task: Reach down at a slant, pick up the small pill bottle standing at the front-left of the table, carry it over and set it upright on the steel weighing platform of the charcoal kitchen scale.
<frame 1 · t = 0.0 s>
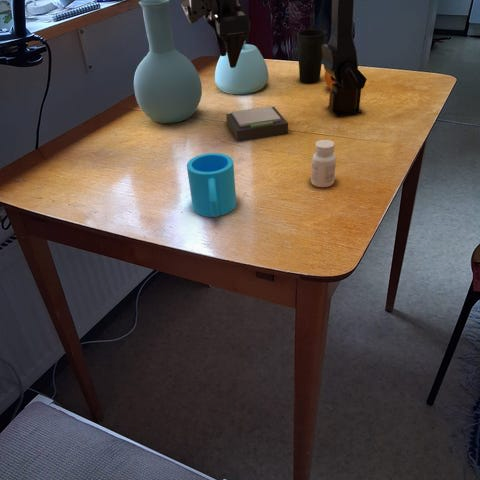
hand: (228, 61, 104), 15 cm above the table, tool pointing down, fingers open, 9 cm apart
sugar bowl: (242, 87, 136), on the table
cup: (309, 81, 136), on the table
mug: (215, 211, 88), on the table
scale: (256, 128, 114), on the table
pill bottle: (322, 183, 93), on the table
fruit: (339, 89, 130), on the table
vase: (172, 116, 123), on the table
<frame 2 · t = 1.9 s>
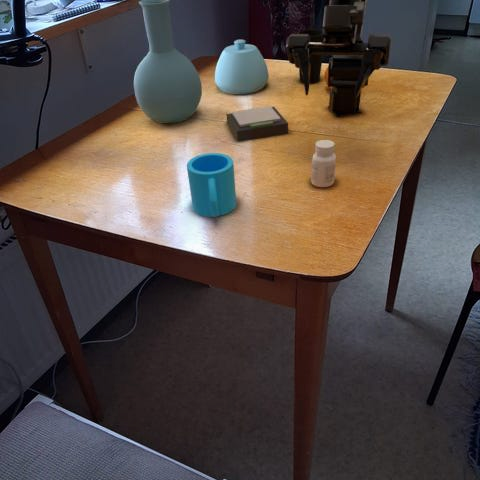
hand: (331, 95, 89), 13 cm above the table, tool tilted 45°, fingers open, 9 cm apart
nothing on the table moved.
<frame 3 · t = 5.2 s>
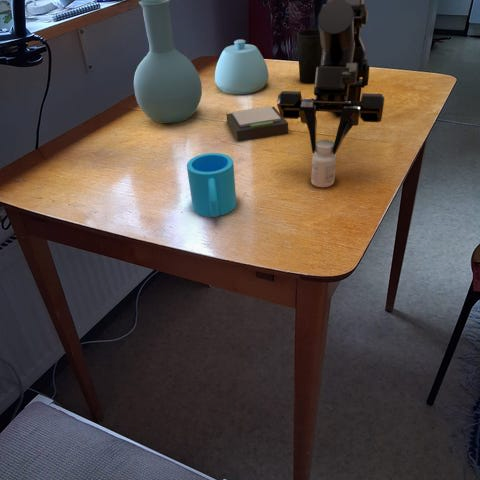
hand: (323, 152, 87), 7 cm above the table, tool tilted 45°, fingers closed on pill bottle, 3 cm apart
pill bottle: (322, 183, 93), on the table, touching gripper
everything else where it was.
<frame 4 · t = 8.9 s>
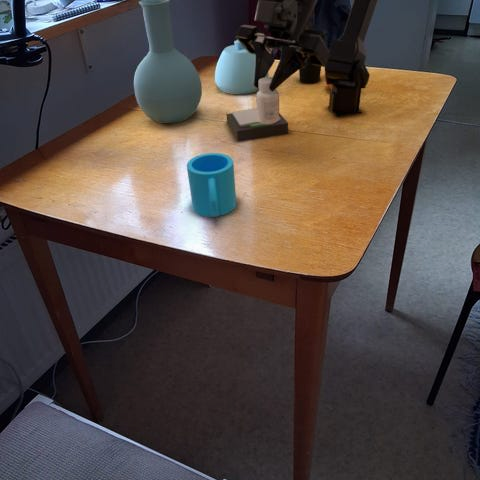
hand: (263, 88, 92), 14 cm above the table, tool tilted 45°, fingers closed on pill bottle, 3 cm apart
pill bottle: (268, 121, 98), point 7 cm above the table, touching gripper
everything else where it was.
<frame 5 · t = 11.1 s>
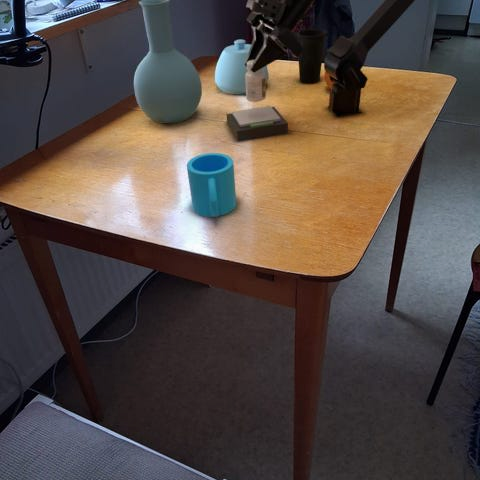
hand: (248, 68, 104), 13 cm above the table, tool tilted 45°, fingers closed on pill bottle, 3 cm apart
pill bottle: (256, 99, 109), point 7 cm above the table, touching gripper
everything else where it was.
when the fingers open (10 cm above the table, at t = 12.6 s): pill bottle stays where it is, resting on scale.
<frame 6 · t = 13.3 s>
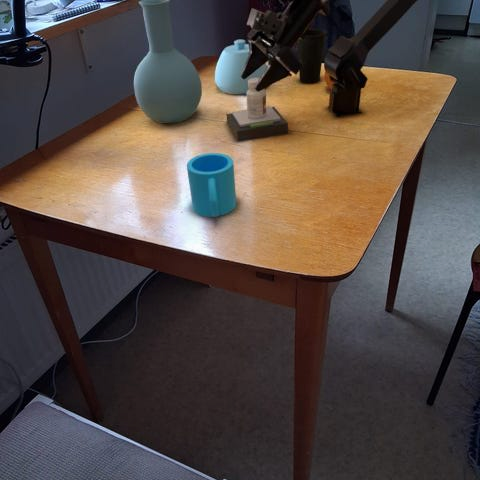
hand: (249, 84, 106), 10 cm above the table, tool tilted 45°, fingers open, 9 cm apart
pill bottle: (257, 116, 112), point 3 cm above the table, touching scale
everything else where it was.
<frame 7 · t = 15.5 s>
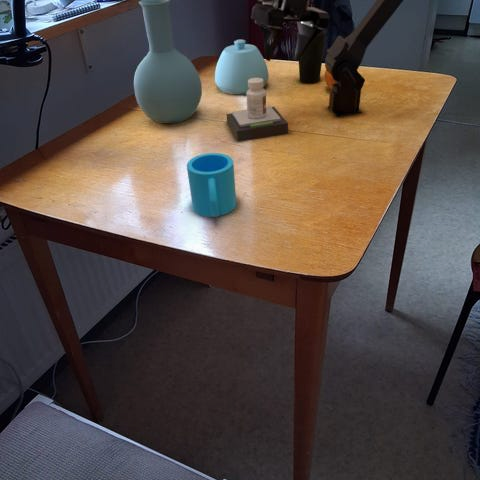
hand: (282, 60, 109), 13 cm above the table, tool pointing down, fingers open, 9 cm apart
nothing on the table moved.
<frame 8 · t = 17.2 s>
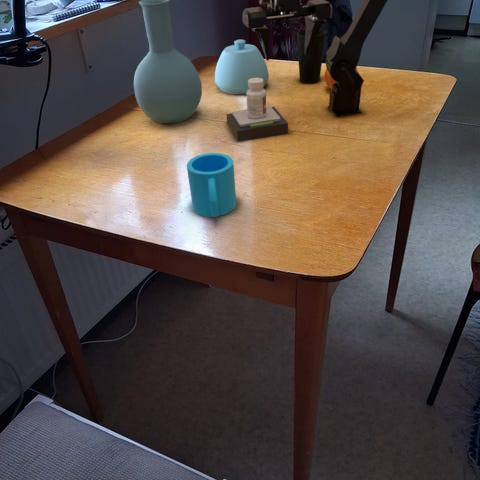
hand: (286, 57, 110), 13 cm above the table, tool pointing down, fingers open, 9 cm apart
nothing on the table moved.
at the end: pill bottle inside the target area on the scale (0.3 cm from its centre), point 2.8 cm above the scale's base; pill bottle tilted 0°; the gripper is holding nothing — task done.
